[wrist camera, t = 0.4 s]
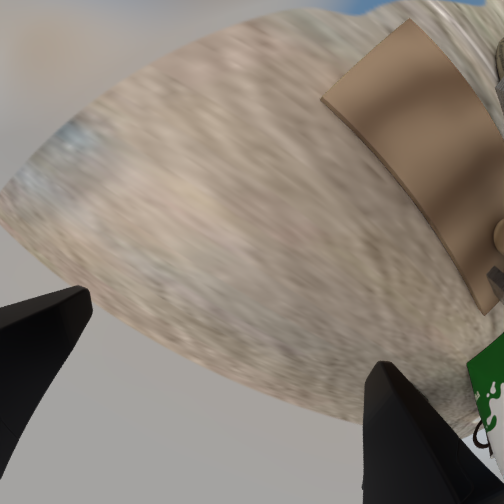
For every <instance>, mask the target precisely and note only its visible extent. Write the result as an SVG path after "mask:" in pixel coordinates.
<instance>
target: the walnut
mask: <svg viewBox="0 0 504 504" xmlns="http://www.w3.org/2000/svg"><path fill="white" fill-rule="evenodd" d="M494 243H495V246H496V248H497V250H498V251H499V252H500V253H501V254H503V255H504V219H502V220H501V221H500V222H499V223H498V224H497V225H496V227H495V230H494Z"/></svg>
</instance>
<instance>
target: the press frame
mask: <svg viewBox="0 0 504 504" xmlns="http://www.w3.org/2000/svg"><path fill="white" fill-rule="evenodd" d="M486 276H487V278H488V281H489V283H490V285H491V288H492V290H493V293H494V295H495V296H496V297H497V298H498V299H499V300H500V301H501V302H502V303H503V304H504V273H503V272H501V271H500V270H499V269H498V268H497V267H496V266H495V265H494V266H493V267H492V268H491V269H490V271H489V272H488V273H487V274H486Z"/></svg>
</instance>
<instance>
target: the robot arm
mask: <svg viewBox="0 0 504 504" xmlns="http://www.w3.org/2000/svg"><path fill="white" fill-rule="evenodd" d="M92 312H93V308H92V302H91V296H90V292H89V290H88V289H87V288H85V287H82V286H79V285H77V286H73V287H70V288H66V289H63V290H60V291H56V292H52V293H49V294H45V295H42V296H38V297H35V298H32V299H28V300H25V301H22V302H18V303H15V304H11V305H8V306H4V307H1V308H0V479H1V478H2V476H3V473H4V471H5V469H6V466H7V464H8V462H9V460H10V458H11V455H12V453H13V451H14V449H15V447H16V445H17V443H18V441H19V438H20V437H21V435H22V433H23V431H24V429H25V427H26V425H27V424H28V422H29V420H30V418H31V416H32V415H33V413H34V411H35V409H36V407H37V406H38V404H39V402H40V401H41V399H42V397H43V396H44V394H45V392H46V391H47V389H48V387H49V386H50V384H51V383H52V381H53V379H54V378H55V376H56V375H57V373H58V371H59V370H60V368H61V367H62V365H63V364H64V362H65V361H66V359H67V358H68V356H69V355H70V353H71V352H72V350H73V348H74V346H75V345H76V343H77V341H78V339H79V337H80V336H81V333H82V332H83V330H84V328H85V327H86V325H87V323H88V321H89V320H90V318H91V316H92ZM363 454H364V455H363V458H364V459H363V460H364V475H363V484H362V490H363V504H504V483H503V482H502V481H501V480H500V479H499V478H498V477H497V476H495V474H493V473H492V472H491V471H490V470H489V469H488V468H487V467H486V466H485V465H484V464H483V463H482V462H481V461H480V460H479V459H478V458H477V457H476V456H475V455H474V453H472V451H471V450H470V449H469V448H468V447H467V446H466V444H465V443H464V442H463V441H462V440H461V439H460V438H459V436H458V435H457V434H456V433H455V432H454V431H453V429H452V428H451V427H450V426H449V425H448V424H447V423H446V421H445V420H444V419H443V418H442V417H441V416H440V415H439V414H438V412H437V411H436V410H435V409H434V408H433V407H432V406H431V405H430V404H429V402H428V400H427V399H426V398H425V397H424V396H423V395H422V394H421V393H420V392H419V391H418V390H417V389H416V388H415V387H414V386H413V385H412V384H411V383H410V382H409V380H408V379H407V378H406V377H405V376H404V375H403V374H402V373H401V372H400V371H399V370H398V369H397V367H396V366H395V365H394V364H393V363H392V362H389V361H378V362H377V363H376V365H375V366H374V368H373V369H372V371H371V373H370V374H369V376H368V377H367V379H366V382H365V391H364V414H363Z"/></svg>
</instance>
